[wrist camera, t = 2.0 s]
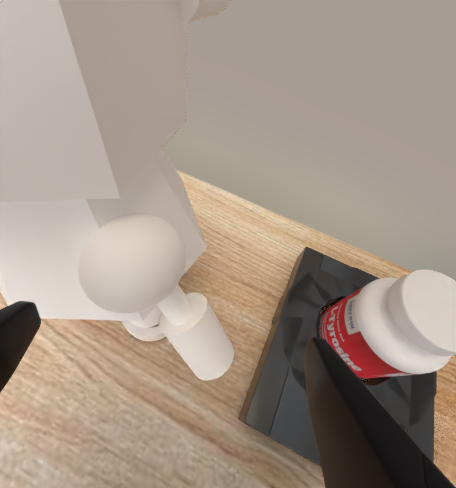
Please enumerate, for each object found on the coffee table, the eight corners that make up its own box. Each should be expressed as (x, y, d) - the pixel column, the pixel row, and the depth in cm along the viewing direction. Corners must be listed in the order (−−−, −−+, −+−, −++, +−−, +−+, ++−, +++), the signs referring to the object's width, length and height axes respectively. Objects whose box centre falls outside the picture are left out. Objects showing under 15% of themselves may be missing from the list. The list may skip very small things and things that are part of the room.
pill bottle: (301, 313, 24) (370, 262, 15) (358, 305, 25) (455, 253, 16) (324, 386, 21) (428, 379, 12) (386, 373, 22) (527, 358, 13)
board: (417, 311, 26) (437, 304, 24) (406, 515, 18) (435, 531, 16) (296, 255, 28) (305, 244, 25) (236, 418, 19) (241, 421, 17)
